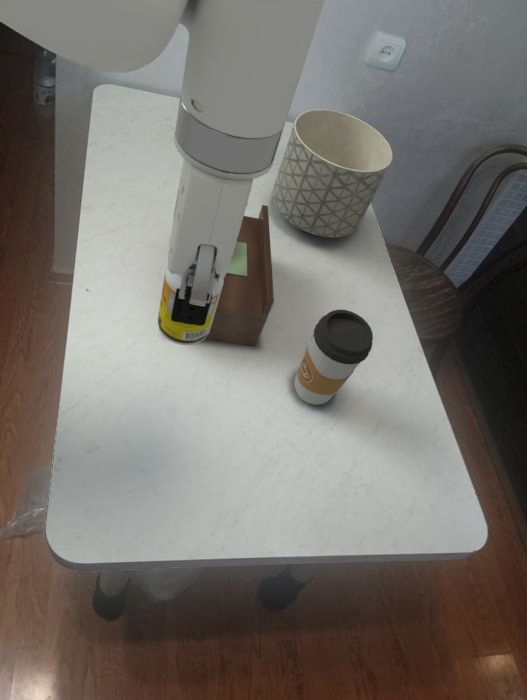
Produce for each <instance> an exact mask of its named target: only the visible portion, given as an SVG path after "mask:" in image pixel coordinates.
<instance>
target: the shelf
mask: <svg viewBox="0 0 527 700" xmlns="http://www.w3.org/2000/svg"><path fill="white" fill-rule="evenodd" d="M271 249H272V248H271V231H270V217H269V206H268V205H266V204H262V205H261V207H260V211H259V214H258V218H257V217H252V216H246V215H244V217H243V220H242V224H241V228H240V231H239V235H238V238H237V242H236V245H235V249H234V252H233V255H232V259H231V262H230V265H229V268H228V270H227V273H226V275H225V277H224V283H223V287H222V291H221V294H220V298H219V301H218V304H217V308H216V312H215V315H214V318H213V322H212V325H211V328H210V331H209V334H208V335H207V337H206V338H205V339H204V340H207V341H214V342H222V343H230V344H235V345H236V344H237V345H245V346H251V347H256V346H257V344H258V342H259V339H260V337H261V334H262V332H263V329H264V327H265V324H266V322H267V320H268V317H269V315H270V312H271V309H272V307H273V305H274V302H275V298H274V296H275V295H274V282H273V281H274V279H273V264H272V250H271Z"/></svg>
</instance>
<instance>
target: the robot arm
mask: <svg viewBox="0 0 527 700" xmlns="http://www.w3.org/2000/svg"><path fill="white" fill-rule="evenodd" d="M325 1H326V0H0V23H2V24H3V25H5V26H7V27H8V28H10V29H12V30H13V31H14V32H16V33H18V34H20V35H22V36H23V37H24V38H26V39H28V40H29V41H32V42H33V43H35V44H37V45H39V46H40V47H42V48H43V49H45V50H47V51H49V52H50V53H53V54H55V55H56V56H58V57H60V58H63V59H65V60H66V61H68V62H71V63H74V64H76V65H79V66H81V67H85V68H86V69H89V70H94V71H98V72H103V73H109V74H124V73H130V72H134V71H138V70H140V69H142V68H144V67H146V66H148V65H150V64H151V63H153V62H154V61H155V60H156V59H158V58H159V57H160V55H162V53H164V51H166V48H167V47H168V45H169V43H170V42H171V41H172V39H173V37H174V35H175V33H176V31H177V29H178V26H179V25H182V26H184V27H185V29H186V30H187V32H188V44H187V52H186V56H185V63H184V70H183V77H182V83H181V90H180V98H179V103H178V104H179V105H178V109H177V117H176V123H175V131H174V137H173V140H174V141H173V142H174V146H175V148H176V150H177V152H178V154H179V155H180V156H181V157H182V158H183V161H182V166H181V170H180V176H179V183H178V187H177V193H176V200H175V204H174V205H175V206H174V211H173V218H172V226H171V231H170V232H171V233H170V238H169V247H168V253H167V254H168V255H167V265H166V267H168V270H169V271H170V273H171V274H176V275H182V279H181V285H180V289H178V288H177V289H176V294H175V299H174V304H173V309H172V314H171V320H172V321H174V322H180V323H185V324H192V325H199V326H203V325H204V324H205V322H206V318H207V315H208V311H209V307H210V304H211V300H212V290H213V286H214V281H215V279H217V282H219V281H221V280H222V279H223V278H224V277H225V275H226V273H227V270H228V268H229V265H230V262H231V259H232V255H233V252H234V249H235V245H236V242H237V238H238V235H239V231H240V228H241V224H242V220H243V217H244V216H245V213H246V209H247V207H248V202H249V199H250V198H249V197H250V194H251V190H252V186H253V182H254V180H255V179H258V178H260V177H263V176H264V175H266V174H267V173H268V172H269V171H270V170H271V168H272V167H273V163H274V160H275V156H276V154H277V150H278V147H279V144H280V141H281V138H282V135H283V132H284V129H285V125H286V123H287V120H288V116H289V113H290V110H291V107H292V103H293V100H294V97H295V96H296V95H295V94H296V91H297V88H298V85H299V82H300V79H301V75H302V72H303V70H304V66H305V63H306V60H307V57H308V53H309V50H310V47H311V45H312V41H313V37H314V36H315V32H316V30H317V29H316V28H317V25H318V22H319V19H320V16H321V14H322V10H323V7H324V3H325ZM195 260H197V261H196V264H193V263H194V262H195ZM189 275H194V280H193V285H192V286H187V284H188V279H189Z"/></svg>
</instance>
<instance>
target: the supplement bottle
mask: <svg viewBox="0 0 527 700" xmlns="http://www.w3.org/2000/svg"><path fill="white" fill-rule="evenodd" d="M196 261H197V260H195V262H194V263H193V264H196ZM163 277H164V278H163V284H162V289H161V297H160V302H159V309H158V313H157V314H158V315H157V325H158V329H159V331H160V333H161V334H162V336H163V337H164V338H166V339H167V340H168V341H170V342H172V343H174V344H177V345H181V346H192V345H197V344H199V343H201V342H203V341H204V340H206V339H205V338H206V337H207V335H208V334H209V331H210V328H211V325H212V322H213V318H214V315H215V312H216V308H217V304H218V301H219V298H220V294H221V291H222V287H223V283H224V278H223V279H222V280H221V281H219V282H217V279H215V281H214V286H213V290H212V300H211V304H210V307H209V311H208V315H207V318H206V322H205V324H204V325H203V326H199V325H192V324H185V323H180V322H174V321H172V320H171V314H172V309H173V304H174V299H175V294H176V289H177V288H178V289H180V285H181V279H182V275H176V274H171V273H170V271H169V270H168V267H167V266H166V268H165V272H164V276H163ZM193 280H194V275H189V279H188V284H187V286H192V285H193Z"/></svg>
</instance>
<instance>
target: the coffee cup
mask: <svg viewBox="0 0 527 700" xmlns="http://www.w3.org/2000/svg"><path fill="white" fill-rule="evenodd" d="M373 340H374V333H373V330H372V328H371V325H369V323H368V322H367V321H366V320H365V319H364V318H363V317H362V316H361V315H360V314H358V313H355V312H353V311H351V310H347V309H334V310H331V311H329V312H328V313H326V314H325V315H323V316H322V317H321V318H320V319H319V321H318V322H317V323H316V324H315V326H314V329H313V334H312V337H311V339H310V342H309V344H308V345H307V348H306V350H305V352H304V355H303V357H302V360H301V362H300V365H299V367H298V370H297V372H296V374H295V375H296V376H295V378H294V383H293V385H294V390H295V392H296V394H297V396H298V397H299V398H300V399H301V401H303V402H304V403H307V404H309V405H312V406H317V405H318V406H319V405H323V404H326V403H327V402H329V401H330V400H331V399H332V398H333V396H334V395H335V394H336V393H337V392H338V391H339V390H340V389H341V387H342V386H343V385H344V384H345V383H346V382H347V381H348V379H349V378H350V377H351V376H352V374H354V371H356V369H357V367H358V366H359V365H360V364H361V363H362V362H363V361H365V360H366V359H367V358H368V356H369V354H370V352H371V351H372V348H373Z"/></svg>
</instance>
